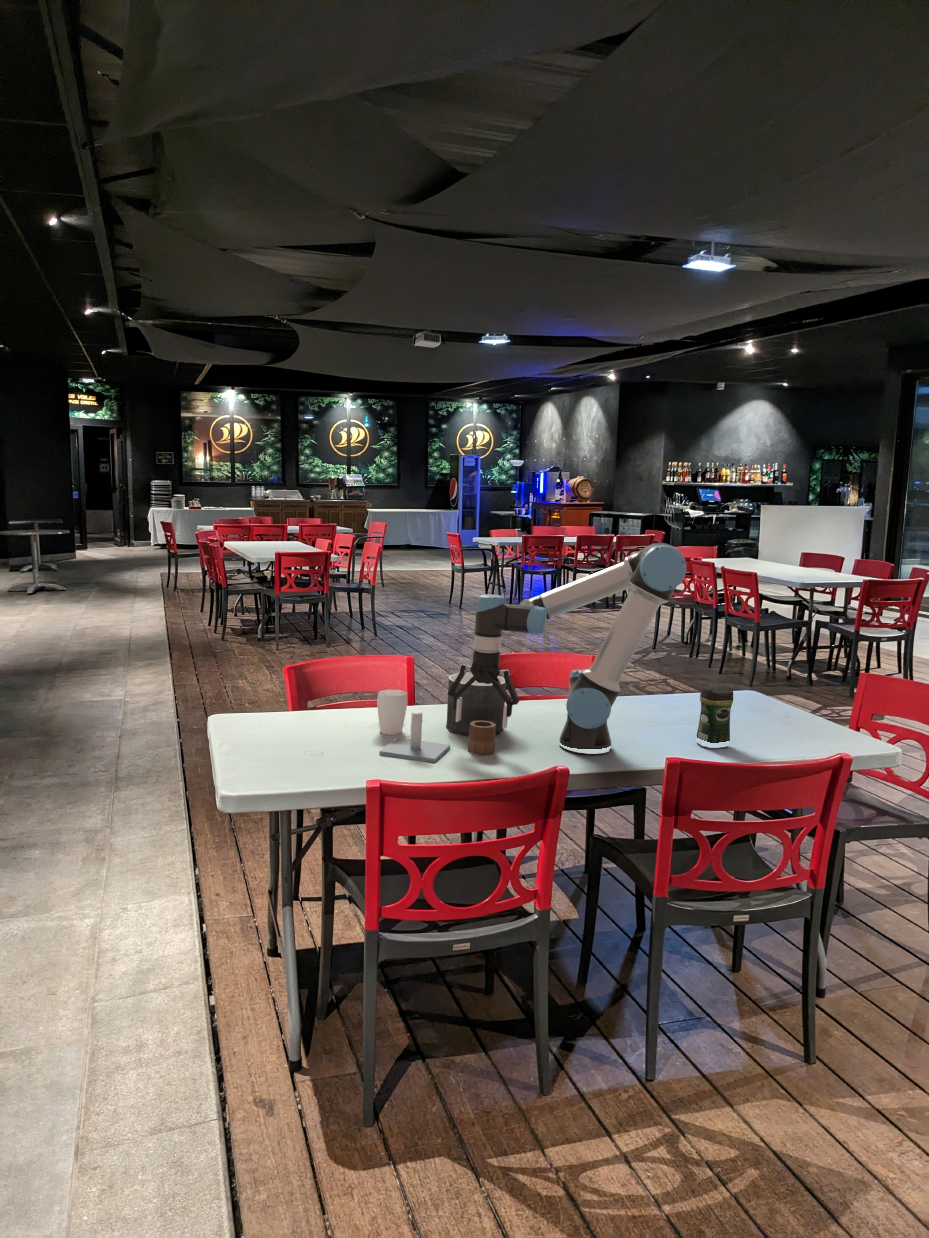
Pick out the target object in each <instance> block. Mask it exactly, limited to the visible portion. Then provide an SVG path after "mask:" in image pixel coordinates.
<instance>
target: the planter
mask: <svg viewBox="0 0 929 1238" xmlns="http://www.w3.org/2000/svg"><path fill="white" fill-rule="evenodd" d="M459 673H460V672H458V673H454V674H451V675H449V676H448V679H447V680H448V685H447V692H448V691H449V690H450V688H451V686H452V685H453V683H454V681H455V680H456V678H457V676H458V675H459ZM472 677H473V675H472V673H471V672H467V673H465V675H464V677H463V678H462V680H461V682H460V683H459V685H458V687H457V688H456V690H455V692H458V691H459V690H460V689H461V688H462V687H463V686H464V685H465V684H466V683H467V682H468V681H469V680H470V679H471V678H472ZM497 678H498V679H499V681H500V683H501V685H502V686H503V688H504V689H505V691H506V692H507V685H506V683H505V680H504V678H503V677H502V676H501V675H499V676H498V677H497ZM459 697H462V710H461V720H460V721H459V722H456V709H454V708H453V703H454V698H453V697H452V696H451V695H448V694H447V703H446V704H447V707H446V711H447V712H446V729H447V730H448V731H451V732H452V733H455V734H459V735H463V736H469V725H470V723H471V722H472V721H480V720H482V721H490V722H493V723H495V724H496V735H499V734H501V733H502V732H504V729H503V728H502V725H503V712H504V705H505V704H506V703H505V701H504V700H503V698H502V697H501V695H500V694H499V692H498V691H497V689H496V688H495V687H494V686H493V685H492V683H490V684H485V683H478V682H477V681H475V682H474V683H472V684H471V685H470V686H469V687H468V688H467V689H466V690H465V691H464V692H463V693H462V694H461V695H460V696H459Z"/></svg>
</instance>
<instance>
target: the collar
mask: <svg viewBox="0 0 929 1238" xmlns="http://www.w3.org/2000/svg"><path fill="white" fill-rule="evenodd" d="M496 735H497V734H496V724H495V723H493V722H490V721H482V720H480V721H472V722H471V723H470V725H469V735H468V745H467V746H468V747H467V751H468V752H469V753H470V754H472V755H476V756H489V755H493V754H494V753H495V751H496V750H495V749H496Z"/></svg>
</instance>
